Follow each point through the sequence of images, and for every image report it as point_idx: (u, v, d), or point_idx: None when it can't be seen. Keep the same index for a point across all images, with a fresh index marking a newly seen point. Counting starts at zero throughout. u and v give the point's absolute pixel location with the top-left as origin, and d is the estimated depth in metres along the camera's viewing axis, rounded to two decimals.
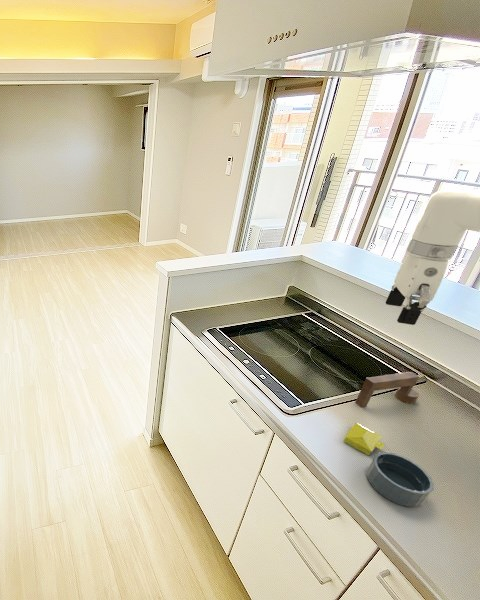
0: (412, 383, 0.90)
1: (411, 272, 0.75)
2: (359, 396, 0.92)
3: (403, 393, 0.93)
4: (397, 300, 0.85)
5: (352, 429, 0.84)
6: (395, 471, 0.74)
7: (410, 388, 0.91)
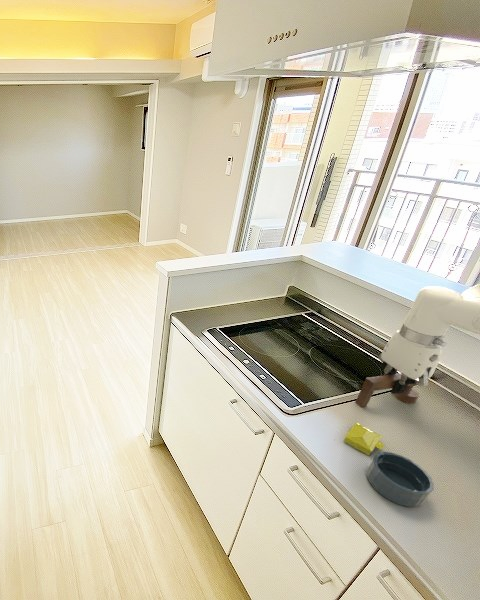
0: None
1: (414, 358, 0.83)
2: (359, 396, 0.92)
3: (403, 393, 0.93)
4: None
5: (352, 429, 0.84)
6: (395, 471, 0.74)
7: (410, 388, 0.91)
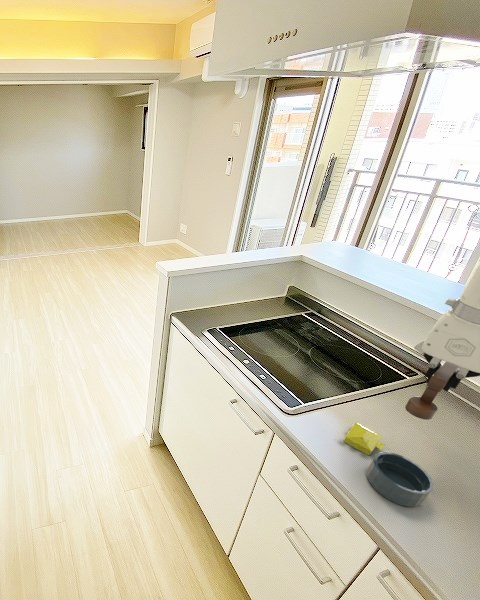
0: (429, 381, 0.71)
1: None
2: None
3: None
4: (448, 382, 0.71)
5: (352, 429, 0.84)
6: (395, 471, 0.74)
7: (425, 390, 0.71)
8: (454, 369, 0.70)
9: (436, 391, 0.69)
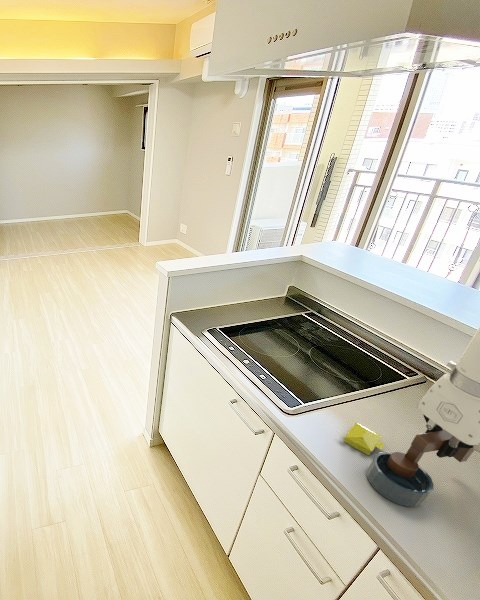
0: None
1: None
2: None
3: None
4: None
5: (352, 429, 0.84)
6: None
7: None
8: None
9: (419, 451, 0.68)
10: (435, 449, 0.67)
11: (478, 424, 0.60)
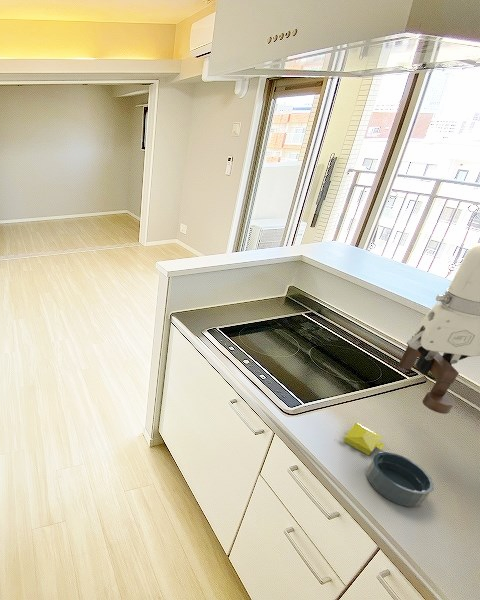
0: (438, 375, 0.72)
1: None
2: None
3: None
4: None
5: (352, 429, 0.84)
6: (395, 471, 0.74)
7: (436, 384, 0.72)
8: (440, 355, 0.75)
9: (449, 383, 0.71)
10: None
11: None
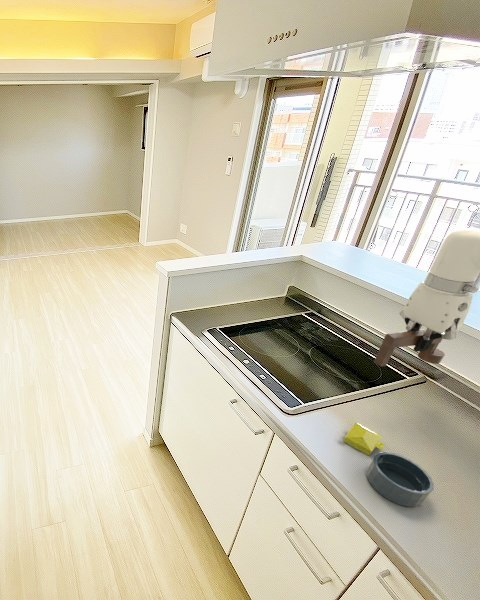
0: (437, 340, 0.83)
1: (441, 308, 0.76)
2: (378, 354, 0.86)
3: (426, 353, 0.86)
4: None
5: (352, 429, 0.84)
6: (395, 471, 0.74)
7: (435, 346, 0.84)
8: (415, 331, 0.83)
9: None
10: None
11: None
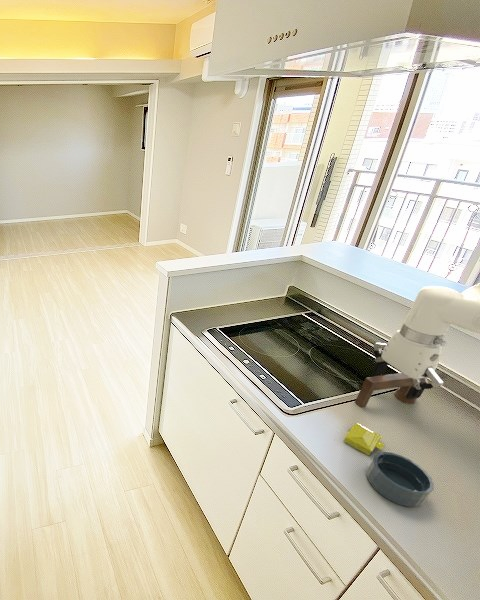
0: (411, 383, 0.90)
1: (415, 357, 0.83)
2: (358, 396, 0.92)
3: (402, 393, 0.93)
4: (381, 370, 0.94)
5: (352, 429, 0.84)
6: (395, 471, 0.74)
7: None
8: (391, 374, 0.90)
9: None
10: None
11: None
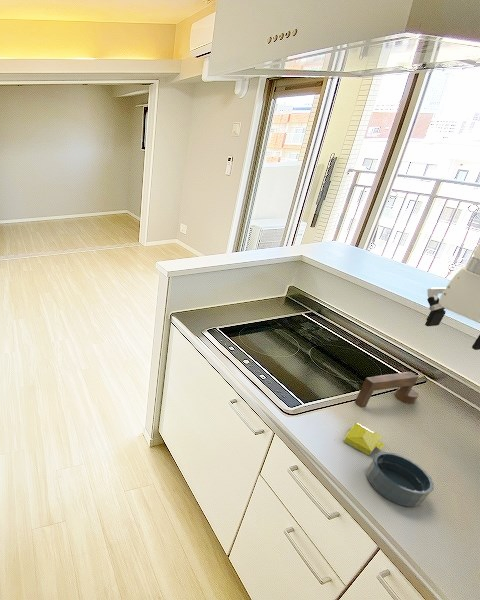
0: (411, 383, 0.90)
1: None
2: (358, 396, 0.92)
3: (402, 393, 0.93)
4: (437, 320, 0.79)
5: (352, 429, 0.84)
6: (395, 471, 0.74)
7: (410, 388, 0.91)
8: (391, 374, 0.90)
9: None
10: None
11: None
